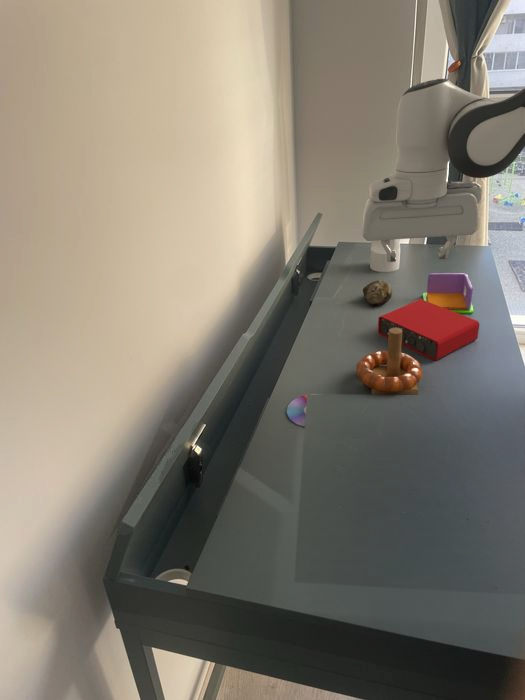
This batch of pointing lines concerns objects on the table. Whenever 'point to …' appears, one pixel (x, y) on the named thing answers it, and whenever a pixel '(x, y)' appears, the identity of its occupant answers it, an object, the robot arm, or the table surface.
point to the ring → (388, 383)
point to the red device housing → (430, 328)
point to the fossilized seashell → (377, 292)
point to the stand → (393, 364)
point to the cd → (298, 410)
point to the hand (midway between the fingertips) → (417, 259)
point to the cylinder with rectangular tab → (384, 256)
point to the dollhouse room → (450, 292)
